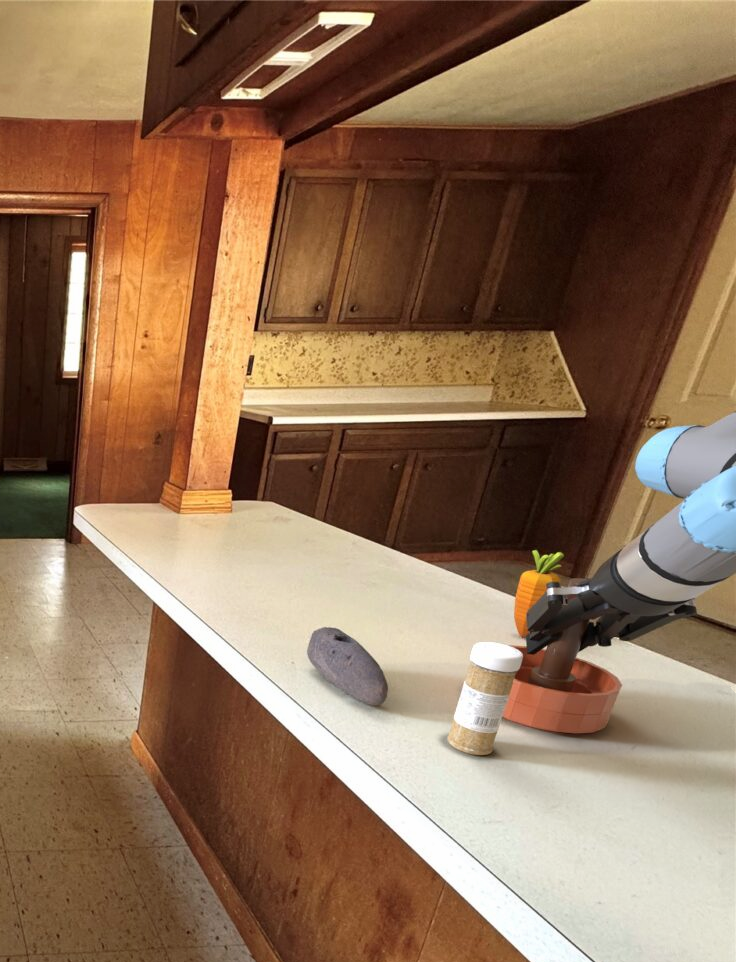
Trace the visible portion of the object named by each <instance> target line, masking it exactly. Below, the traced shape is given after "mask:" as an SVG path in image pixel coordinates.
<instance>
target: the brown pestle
mask: <svg viewBox="0 0 736 962" xmlns="http://www.w3.org/2000/svg"><path fill="white" fill-rule="evenodd" d="M588 579H589V578H580V577H574V578H570V579H569V581H568V585H567V587H577V585H578V584H579V583H580V582H582V581H585V580H588ZM575 598H576V597H575ZM575 598H572V599H571V600H573V599H575ZM571 600H570V601H571ZM567 602H569V601H567ZM589 622H591V619H586V620H583V621H581V622H579V623H577V624H575V625H573V626H571V627H569V628H567V629H565V630H563V631H560V632H558V635H559V638H558V639H556V640H555V641H554V642H552V643H551V644H549V645H548V646H546V647H545V648H546V651H545V654H544V657H543V660H542V663H541V666H537V667H534V668H532V671H531V674H530V677H529V680H528V684H532V685H536V686H539V687H543V688H547V689H553V690H558V691H564V692H572V689H573V686H574V684H575V681H576V677H575V676H574V675H572V674H571V670H572V668H573V665H574V662H575V659H576V657H577V656H578V654H579V652H578V651H579V648H580V646H581V643H582V640H583V637H584V635H585V632H586V629H587V626H588V624H589ZM577 658H578V657H577Z"/></svg>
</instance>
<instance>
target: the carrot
mask: <svg viewBox="0 0 736 962" xmlns="http://www.w3.org/2000/svg"><path fill="white" fill-rule="evenodd" d="M531 553H532V556H533V558H534V561H535V567H536V569H531V570H526V571H524V572H522V574H521V575H520V578H519V581H518V585H517V589H516V594H515V597H514V606H513V607H514V608H513V611H514V612H513V618H514V623H515V624H514V625H515V627H516V630H517V632H518V636H520V638H526V635H528V634H529V631H527V619H526V613H527V612H528V611H529V609H530V608H531V607H532V606H533V605H534V604H535V603H536V602H537V601H538V600H539V599H540V598H541V597H542V595H543V594H544V593H545V592H546V591H547V588H546V584H547V583H549V582H558V583H560V586H562V579H561V578H560V577H559V575H558V574H557V573H555V572H553V571H555V570H558V569H560V568H562V565H561V564H557V563H558V562H560V561H561V560H562V559H563V558H564V557H565V555H564V553H563V552H561V551H558V552H556V553H550V554H549V555H548V554H544V555H542V556H541V557H540V554H539V551H538V550H537V549H534V550H532V551H531Z"/></svg>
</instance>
